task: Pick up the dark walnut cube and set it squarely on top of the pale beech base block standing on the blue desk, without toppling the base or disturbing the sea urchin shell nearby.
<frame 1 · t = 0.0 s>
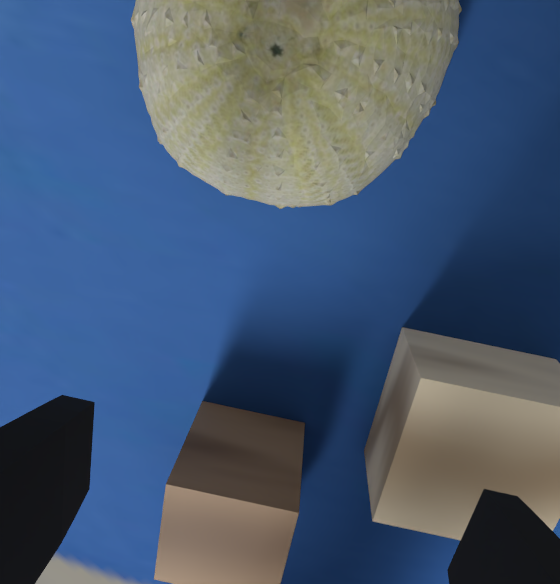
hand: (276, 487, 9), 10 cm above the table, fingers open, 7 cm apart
beech base: (453, 404, 19), on the table
sea urchin shell: (293, 58, 16), on the table
walnut block: (245, 452, 21), on the table
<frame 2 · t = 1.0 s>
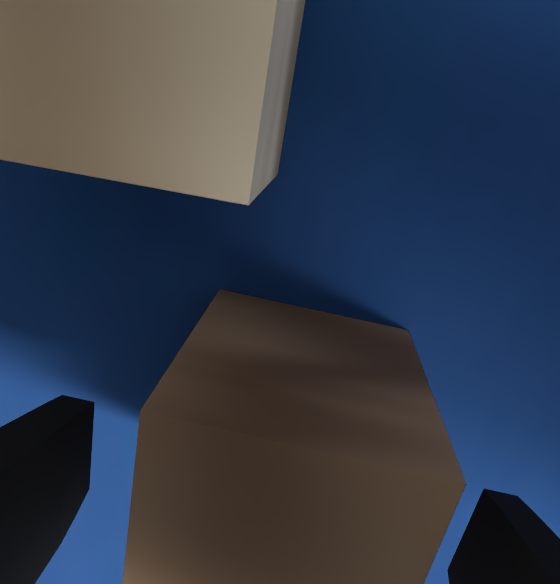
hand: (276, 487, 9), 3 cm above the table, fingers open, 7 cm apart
walnut block: (294, 389, 12), on the table
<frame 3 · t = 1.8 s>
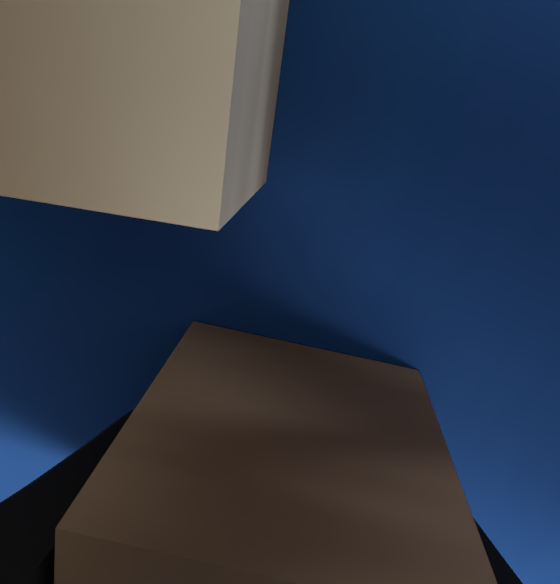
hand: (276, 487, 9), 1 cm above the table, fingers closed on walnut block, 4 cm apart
walnut block: (283, 438, 10), on the table, touching gripper
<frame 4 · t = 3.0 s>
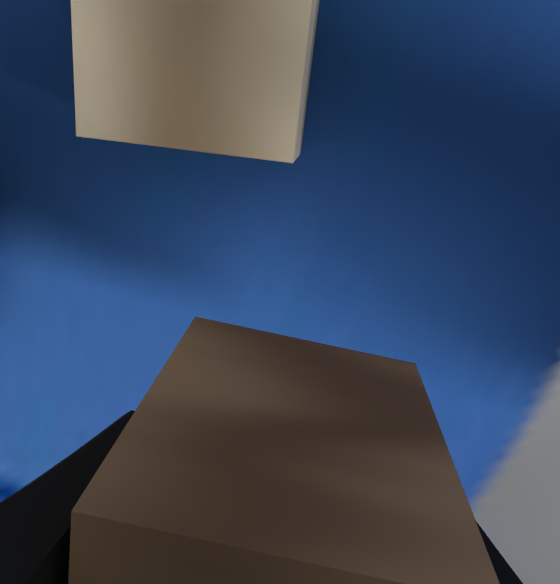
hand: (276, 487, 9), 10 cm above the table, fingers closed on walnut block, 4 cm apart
beech base: (221, 47, 15), on the table
walnut block: (283, 431, 10), point 8 cm above the table, touching gripper
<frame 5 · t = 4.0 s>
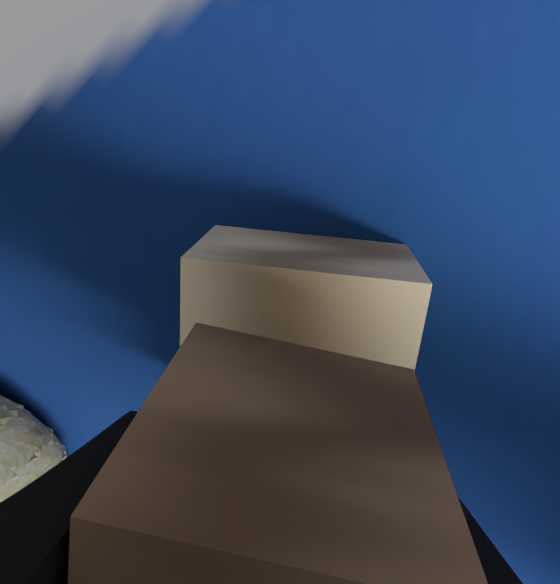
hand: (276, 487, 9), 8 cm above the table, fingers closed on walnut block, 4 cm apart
beech base: (300, 319, 16), on the table
walnut block: (283, 435, 10), point 6 cm above the table, touching gripper
when the fingers open (7 cm above the table, at t = 4.6 s): walnut block drops 1 cm, point 4 cm above the table.
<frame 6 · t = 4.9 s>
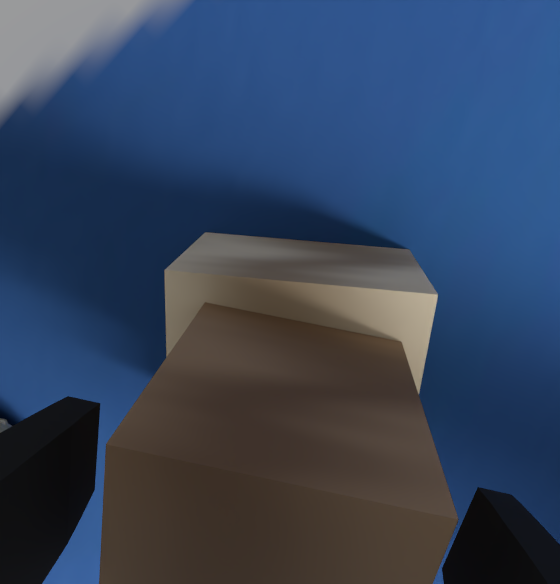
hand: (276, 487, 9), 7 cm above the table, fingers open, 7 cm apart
beech base: (298, 330, 15), on the table
walnut block: (285, 405, 11), point 4 cm above the table
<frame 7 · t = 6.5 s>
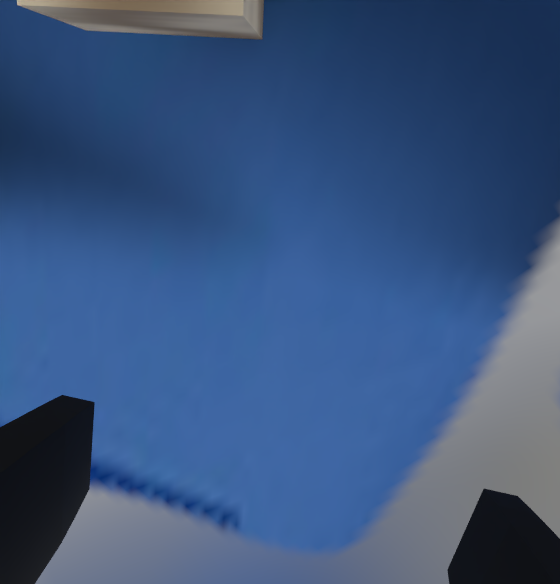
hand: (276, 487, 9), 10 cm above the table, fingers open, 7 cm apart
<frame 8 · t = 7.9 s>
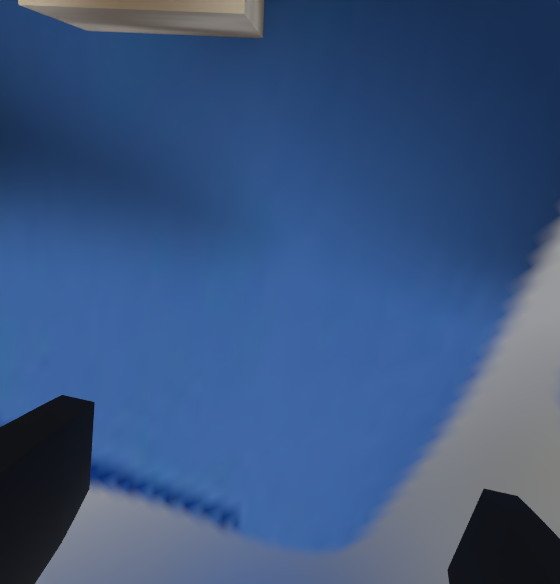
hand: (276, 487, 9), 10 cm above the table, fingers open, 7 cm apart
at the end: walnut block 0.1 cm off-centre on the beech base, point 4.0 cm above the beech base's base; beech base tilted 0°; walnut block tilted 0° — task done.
